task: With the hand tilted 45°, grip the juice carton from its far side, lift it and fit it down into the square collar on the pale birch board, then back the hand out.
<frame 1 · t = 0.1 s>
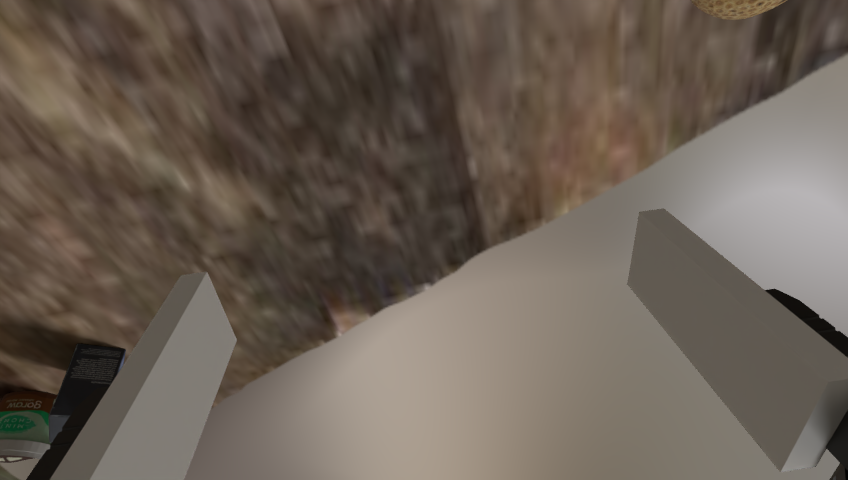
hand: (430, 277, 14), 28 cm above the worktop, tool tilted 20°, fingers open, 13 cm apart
small box: (101, 360, 69), on the worktop
food container: (29, 394, 74), on the worktop
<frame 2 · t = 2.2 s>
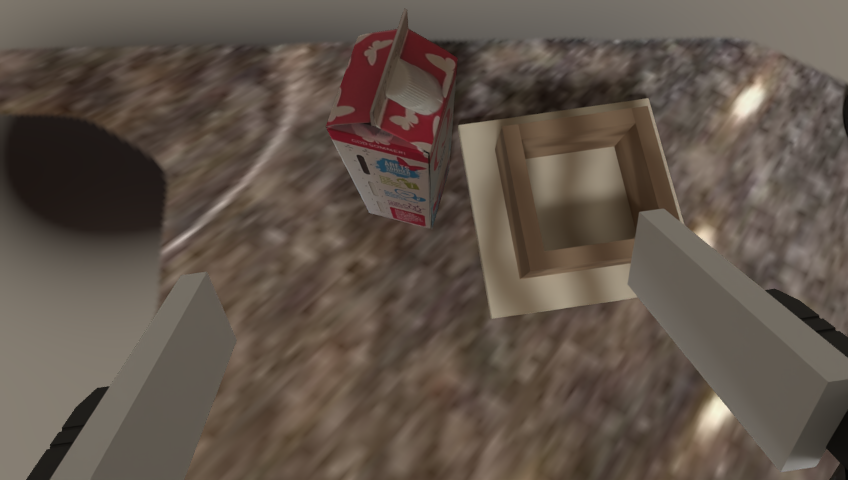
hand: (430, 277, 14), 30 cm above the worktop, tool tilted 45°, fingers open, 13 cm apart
birch collar board: (571, 205, 45), on the worktop
juice carton: (409, 191, 46), on the worktop
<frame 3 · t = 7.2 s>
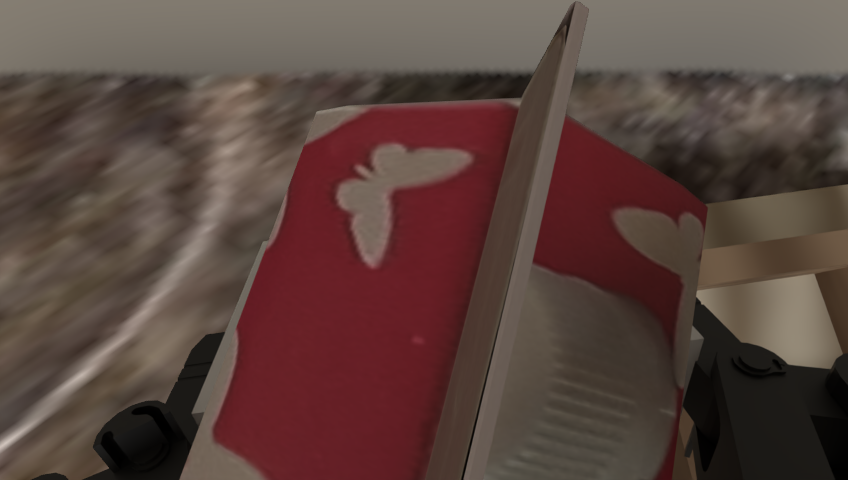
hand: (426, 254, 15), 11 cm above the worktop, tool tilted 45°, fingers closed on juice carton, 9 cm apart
birch collar board: (738, 385, 24), on the worktop
juice carton: (434, 352, 25), on the worktop, touching gripper
when the fingers open (13 cm above the worktop, at t = 13.8 s): juice carton drops 1 cm, resting on birch collar board.
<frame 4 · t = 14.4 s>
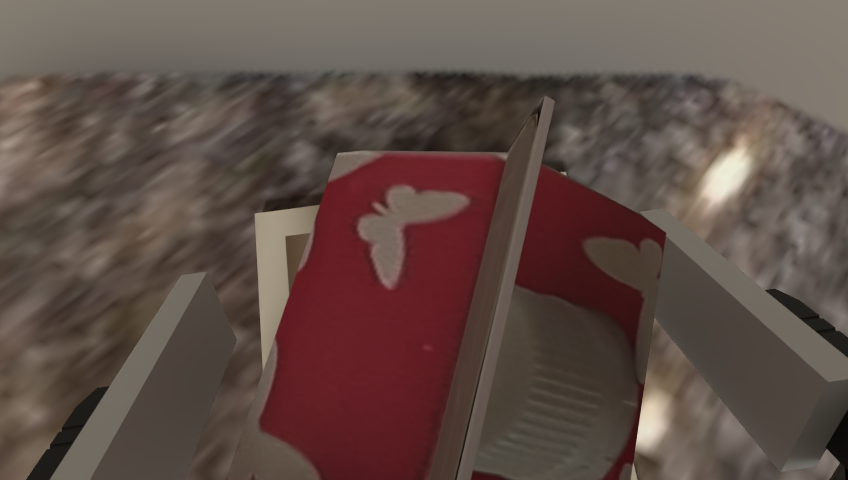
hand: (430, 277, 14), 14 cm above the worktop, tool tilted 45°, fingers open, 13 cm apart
birch collar board: (434, 352, 27), on the worktop
juice carton: (436, 353, 26), point 1 cm above the worktop, touching birch collar board
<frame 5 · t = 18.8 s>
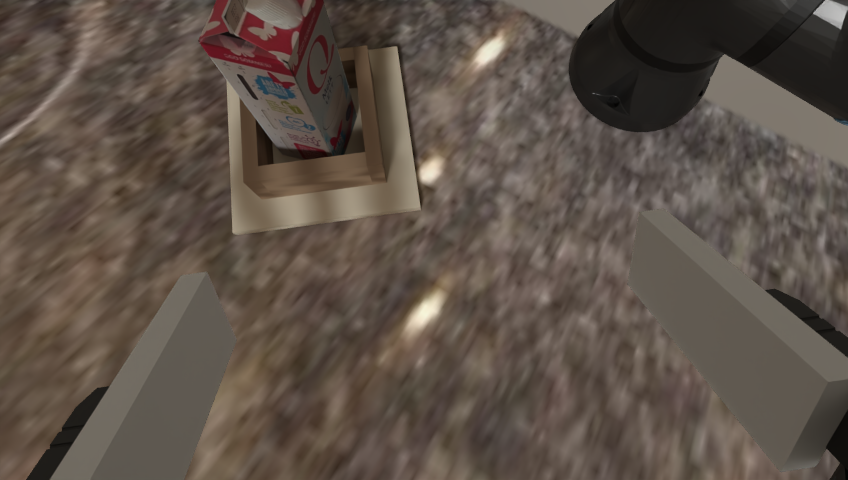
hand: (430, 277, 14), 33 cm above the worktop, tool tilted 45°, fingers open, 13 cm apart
birch collar board: (321, 138, 51), on the worktop
juice carton: (320, 135, 50), point 1 cm above the worktop, touching birch collar board
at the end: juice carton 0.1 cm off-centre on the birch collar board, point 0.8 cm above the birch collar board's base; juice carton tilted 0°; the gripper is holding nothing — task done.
